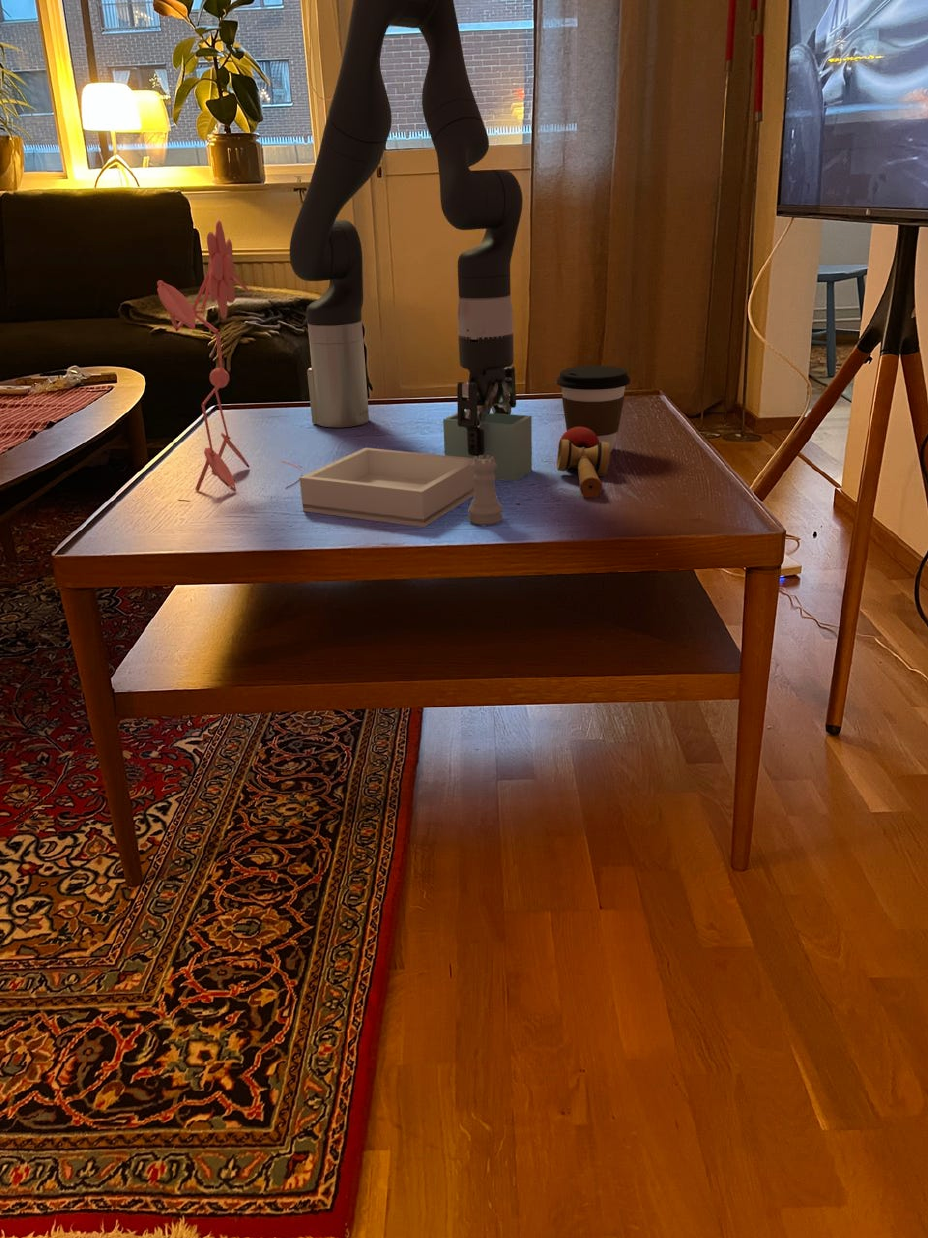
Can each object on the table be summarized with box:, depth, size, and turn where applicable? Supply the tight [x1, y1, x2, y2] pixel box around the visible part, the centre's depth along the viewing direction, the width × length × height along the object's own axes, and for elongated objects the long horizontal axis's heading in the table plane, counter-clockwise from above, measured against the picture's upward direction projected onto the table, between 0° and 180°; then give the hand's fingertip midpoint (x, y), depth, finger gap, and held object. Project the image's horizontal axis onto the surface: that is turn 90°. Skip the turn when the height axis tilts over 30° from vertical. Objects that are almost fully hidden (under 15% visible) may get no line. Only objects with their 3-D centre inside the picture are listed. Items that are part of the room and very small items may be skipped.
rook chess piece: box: [467, 455, 504, 527], centre depth 120 cm, size 4×4×8 cm
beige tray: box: [299, 447, 475, 528], centre depth 129 cm, size 18×16×4 cm
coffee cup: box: [556, 365, 631, 453], centre depth 148 cm, size 11×11×12 cm
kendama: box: [556, 427, 611, 498], centre depth 136 cm, size 8×6×18 cm
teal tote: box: [442, 410, 533, 482], centre depth 140 cm, size 11×6×8 cm, turn 63°
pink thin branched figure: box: [156, 220, 303, 503], centre depth 134 cm, size 15×26×35 cm, turn 179°
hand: (489, 447), depth 140 cm, fingers open, 8 cm apart
